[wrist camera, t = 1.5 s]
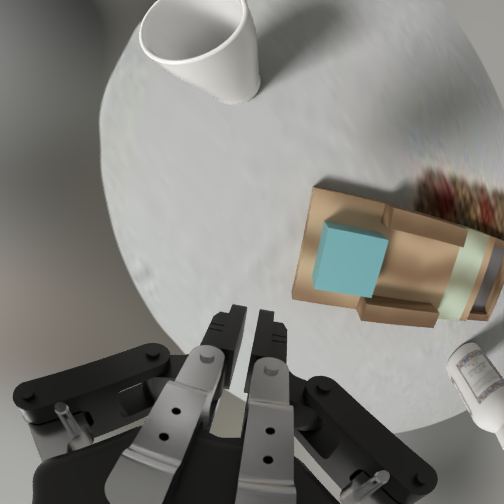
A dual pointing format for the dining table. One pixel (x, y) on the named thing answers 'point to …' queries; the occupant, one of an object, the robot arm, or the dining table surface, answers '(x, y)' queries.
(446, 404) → the dining table surface
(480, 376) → the bath foam
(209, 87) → the drinking glass
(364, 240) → the block
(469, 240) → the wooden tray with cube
